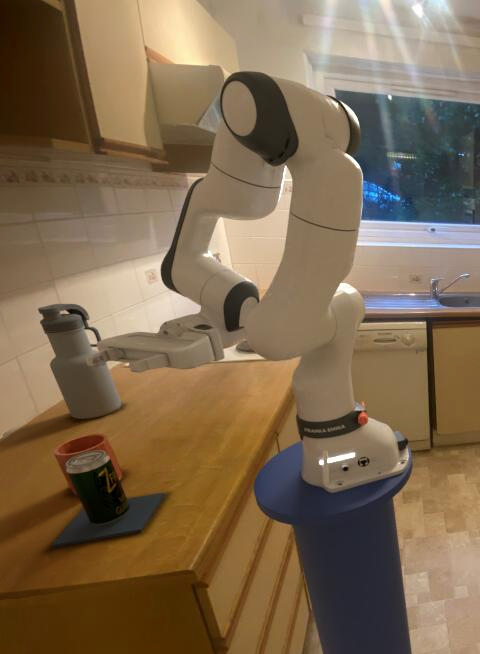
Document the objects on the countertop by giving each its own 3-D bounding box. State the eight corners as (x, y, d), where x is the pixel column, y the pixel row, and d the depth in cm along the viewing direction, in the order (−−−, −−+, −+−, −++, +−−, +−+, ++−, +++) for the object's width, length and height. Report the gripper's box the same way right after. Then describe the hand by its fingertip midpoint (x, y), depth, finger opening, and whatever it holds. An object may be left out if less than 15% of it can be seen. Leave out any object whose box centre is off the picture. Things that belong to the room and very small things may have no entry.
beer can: (85, 531, 72) (57, 471, 68) (97, 510, 77) (72, 453, 72) (125, 521, 74) (100, 463, 70) (135, 502, 79) (112, 446, 74)
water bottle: (96, 401, 117) (55, 300, 106) (133, 401, 117) (96, 300, 106) (60, 420, 108) (12, 311, 97) (100, 420, 108) (56, 311, 97)
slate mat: (165, 495, 82) (164, 492, 82) (141, 532, 73) (140, 529, 73) (87, 507, 79) (86, 504, 78) (52, 548, 70) (51, 545, 70)
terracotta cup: (129, 469, 89) (114, 431, 86) (111, 491, 83) (94, 451, 79) (85, 475, 87) (68, 437, 84) (63, 498, 81) (43, 458, 77)
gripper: (138, 320, 87) (57, 342, 74) (223, 328, 82) (152, 353, 70) (148, 350, 89) (71, 376, 77) (231, 359, 85) (164, 388, 72)
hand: (111, 365), depth 73 cm, fingers open, 8 cm apart
